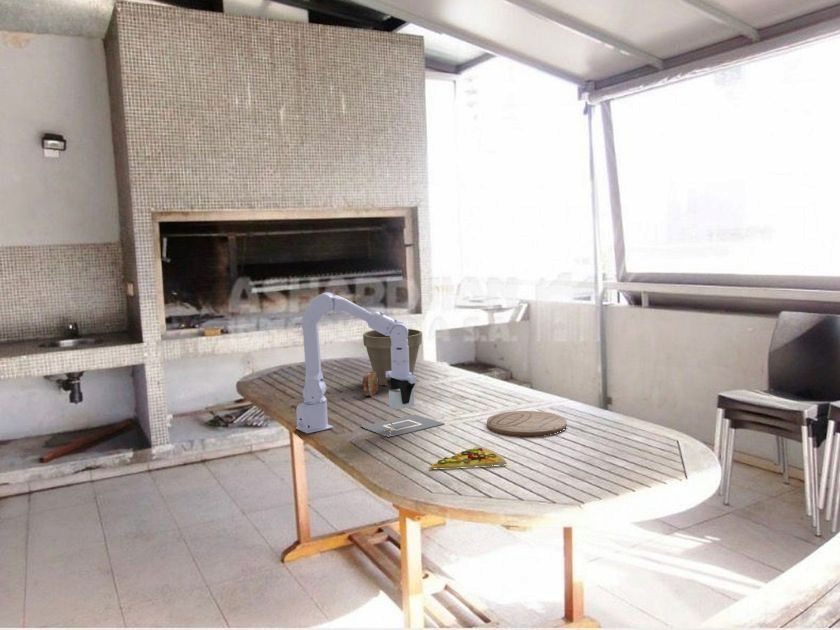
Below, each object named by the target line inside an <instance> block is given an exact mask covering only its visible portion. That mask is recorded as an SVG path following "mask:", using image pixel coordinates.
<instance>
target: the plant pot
mask: <svg viewBox="0 0 840 630" xmlns="http://www.w3.org/2000/svg"><path fill="white" fill-rule="evenodd" d="M362 339H363V340H362V341H363V346H364V347H365V348H366V352H367V355H368V359H369V362H370V366H371V368H372V371H376V372H377V374H378V378H379V386H382V385H385V386H384V387H389V385H388V383H387V380H390V379H391V378H390V377H389V378H387V377H386V371H392V368H391V338H390V336H385V335H383V334H381V333H379V332H377V331H375V330H373V329H372V330H369V331H364V333H363V334H362ZM422 339H423V332H422V330H419V329H413V328H408V337H407V340H408V346H409V372H411V373H412V375H413V376H414V372H415V367H416V363H417V358H418V355H419V349H420V345H421V344H422V343H423V340H422Z"/></svg>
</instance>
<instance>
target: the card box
mask: <svg viewBox="0 0 840 630" xmlns="http://www.w3.org/2000/svg"><path fill="white" fill-rule="evenodd" d="M388 401H389V403H388V405H389V406H388V407H389V408H390V409H393V410H401V409H405V408H406V409H407V408H410V407H411V408H412V407H415V389H414V388H413V389H412V392H411V396H410V400H409V403H407V404H403V403H402V398H401V391H400V389H392V390H391V389H389V390H388Z"/></svg>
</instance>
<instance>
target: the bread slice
mask: <svg viewBox="0 0 840 630" xmlns="http://www.w3.org/2000/svg"><path fill="white" fill-rule="evenodd" d="M379 387H380V385H379V378H378V374H377V372H376V371H373V370H372V371H369V372H367V373H366V374H365V375H364V376H363V378H362V390H363V394H364V396H365V397H373V396H374V395H375V394H376V393H377V392H378V391H379ZM375 392H376V393H375ZM374 393H375V394H374ZM373 394H374V395H373ZM372 395H373V396H372Z"/></svg>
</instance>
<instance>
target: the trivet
mask: <svg viewBox="0 0 840 630" xmlns="http://www.w3.org/2000/svg"><path fill="white" fill-rule="evenodd" d="M567 425H568V423H567V419H566V418H564V417H563V416H561V415H559V414H555V413H550V412H545V411H534V410H517V411H516V410H514V411H513V410H512V411H507V412H500V413H496V414H494V415H491V416H489V417H488V418H487V419H486V427H487V429H488V430H489V431H491V432H493V433H494V434H499V435H503V436H510V437H515V436H520V437H519V438H536V437H535V436H542V437H545V436H544V435H549V436H551V435H550V434H554V433H557V432H560V431H562V430H563V429H565V428H566V426H567ZM567 427H568V426H567ZM566 429H567V428H566ZM566 429H565V430H566ZM562 432H563V431H562ZM560 433H561V432H560ZM557 434H558V433H557ZM554 435H555V434H554Z"/></svg>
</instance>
